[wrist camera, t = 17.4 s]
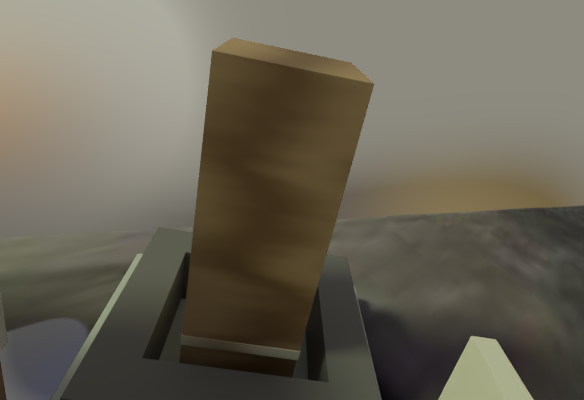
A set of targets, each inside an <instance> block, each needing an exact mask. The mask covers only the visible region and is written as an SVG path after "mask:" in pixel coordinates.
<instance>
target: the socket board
mask: <svg viewBox="0 0 584 400" xmlns="http://www.w3.org/2000/svg"><path fill="white" fill-rule="evenodd" d="M192 238H193V233H191V232H185V231H179V230H173V229H166V228H160V227H159V228H158V229H157V231H156V233H155V235H154V236H153V238H152V240H151V242H150V243H149V245H148V247H147V248H146V250H145V252H144V254H139V253H138V254H137V256H136V258H135V259H134V261H133V263H132V264H131V266H130V268H129V269H128V271H127V273H126V274H125V276H124V278H123V279H122V281H121V283H120V284H119V286H118V288H117V289H116V291H115V293H114V294H113V296H112V298H111V299H110V301H109V303H108V304H107V306H106V308H105V309H104V311H103V313H102V314H101V316H100V318H99V319H98V321H97V323H96V324H95V326H94V328H93V329H92V331H91V333H90V334H89V336H88V338H87V339H86V341H85V343H84V344H83V346H82V348H81V350H80V351H79V353H78V354H77V356H76V358H75V359H74V361H73V363H72V364H71V366H70V368H69V369H68V371H67V373H66V374H65V376H64V378H63V379H62V381H61V383H60V384H59V386H58V388H57V389H56V391H55V393H54V394H53V396H52V398H51V399H50V400H382V399H381V395H380V391H379V386H378V382H377V378H376V374H375V370H374V366H373V361H372V357H371V353H370V349H369V345H368V340H367V336H366V332H365V328H364V324H363V319H362V315H361V311H360V307H359V303H358V298H357V294H356V290H355V287H354V286H353V281H352V277H351V273H350V269H349V264H348V260H347V258H345V257H339V256H333V255H327V254H326V258H325V261H324V265H323V268H322V272H321V276H320V279H319V283H318V286H317V290H316V293H315V297H314V301H313V304H312V308H311V311H310V315H309V319H308V322H307V326H306V329H305V333H304V336H303V340H302V344H301V347H300V355H299V359H298V360H297V361H296V365H295V369H294V372H293V376H292V378H290V377H283V376H275V375H267V374H260V373H252V372H245V371H237V370H229V369H222V368H214V367H207V366H199V365H191V364H184V363H179V361H180V351H181V344H180V340H181V334H182V331H183V323H184V314H185V304H186V295H187V285H188V276H189V266H190V257H191V247H192Z"/></svg>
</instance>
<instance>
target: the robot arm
mask: <svg viewBox="0 0 584 400" xmlns="http://www.w3.org/2000/svg"><path fill="white" fill-rule="evenodd" d="M7 342H8V341H7V333H6V326H5V319H4V312H3V305H2V298H1V291H0V350H1V349H2V348H3V347H4V345H5V344H6V343H7ZM438 400H533V398H532V397H531V395H530V393H529V392H528V390H527V389H526V387H525V385H524V384H523V382H522V381H521V379H520V377H519V376H518V374H517V373H516V371H515V369H514V368H513V366H512V364H511V363H510V361H509V360H508V358H507V356H506V355H505V353H504V352H503V350H502V348H501V347H500V345H499V343H498V342H497V340H496V339H489V338H483V337H476V336H471V337H470V339H469V341H468V343H467V345H466V347H465V349H464V351H463V353H462V355H461V357H460V358H459V360H458V362H457V364H456V366H455V368H454V370H453V372H452V374H451V376H450V378H449V380H448V382H447V383H446V385H445V387H444V389H443V391H442V393H441V395H440V397H439V399H438Z"/></svg>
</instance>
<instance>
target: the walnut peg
mask: <svg viewBox="0 0 584 400" xmlns="http://www.w3.org/2000/svg"><path fill="white" fill-rule="evenodd" d="M373 86H374V83H373V82H372V81H370V80H369V79H368V78H367V77H366V76H365V75H364V74H363V73H362V72H361V71H360V70H358V69H357V68H356V67H355V66H354V65H353V64H352V63H350V62H345V61H340V60H335V59H331V58H326V57H321V56H317V55H312V54H307V53H302V52H298V51H293V50H288V49H283V48H279V47H274V46H269V45H264V44H259V43H255V42H249V41H245V40H240V39H236V38H232V39H230V40H229V41H227V42H225V43H224V44H222V45H220V46H219V47H217V48H216V49H214V50H213V51H212V58H211V67H210V78H209V86H208V96H207V105H206V115H205V124H204V134H203V143H202V153H201V162H200V172H199V181H198V190H197V200H196V210H195V219H194V228H193V238H192V247H191V257H190V266H189V276H188V285H187V295H186V304H185V314H184V323H183V331H182V334H181V340H180V344H181V351H180V361H179V363H184V364H191V365H199V366H207V367H214V368H222V369H229V370H237V371H245V372H252V373H260V374H267V375H275V376H283V377H290V378H292V376H293V372H294V369H295V365H296V361H297V360H298V359H299V355H300V347H301V344H302V340H303V336H304V333H305V329H306V326H307V322H308V319H309V315H310V311H311V308H312V304H313V301H314V297H315V293H316V290H317V286H318V283H319V279H320V276H321V272H322V268H323V265H324V261H325V258H326V254H327V251H328V247H329V243H330V240H331V236H332V233H333V229H334V226H335V222H336V218H337V215H338V211H339V208H340V204H341V200H342V197H343V193H344V190H345V186H346V183H347V179H348V175H349V172H350V168H351V165H352V161H353V158H354V154H355V150H356V147H357V143H358V140H359V136H360V132H361V129H362V125H363V122H364V118H365V115H366V111H367V108H368V104H369V100H370V96H371V93H372V90H373Z"/></svg>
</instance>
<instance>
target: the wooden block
mask: <svg viewBox="0 0 584 400" xmlns="http://www.w3.org/2000/svg"><path fill="white" fill-rule="evenodd" d="M0 400H6V394H5V388H4V382H3V376H2V369H1V363H0Z"/></svg>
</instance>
